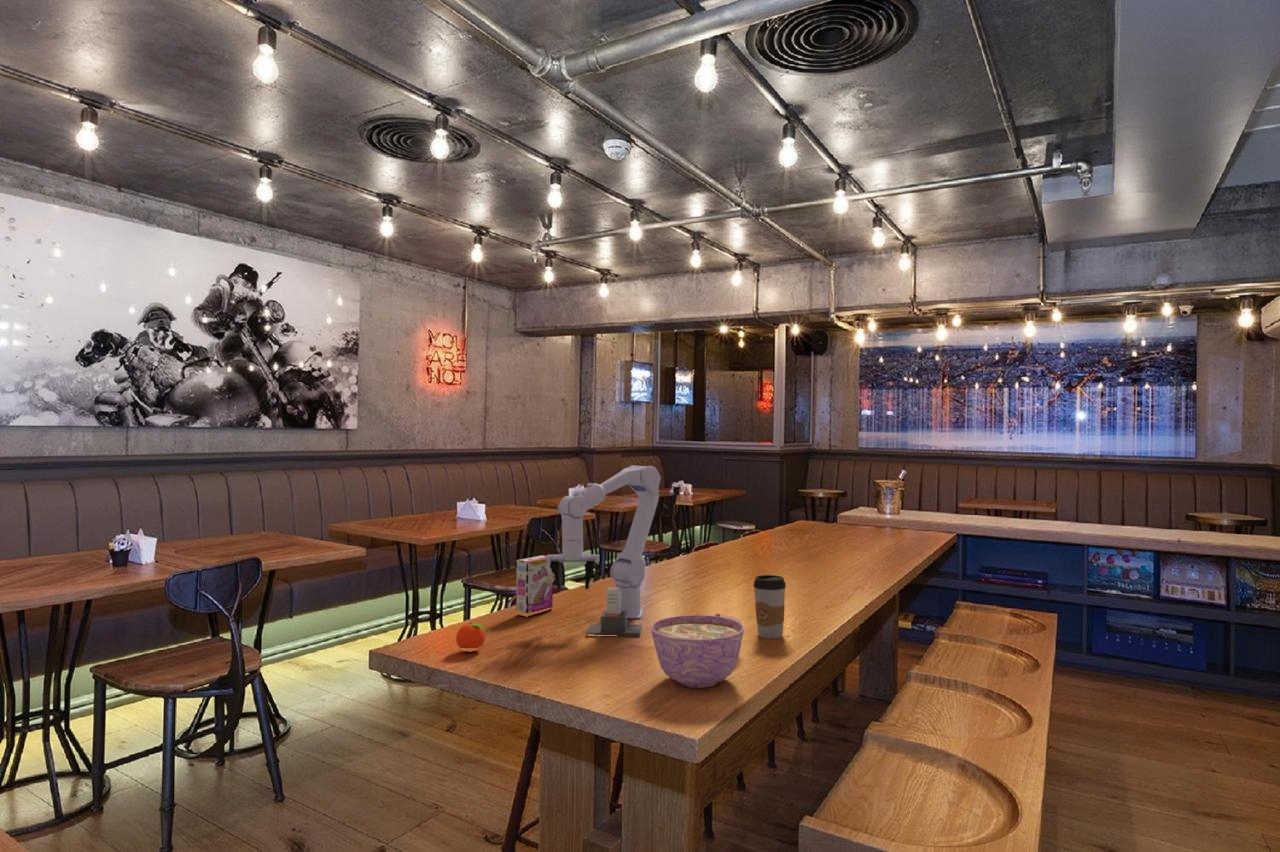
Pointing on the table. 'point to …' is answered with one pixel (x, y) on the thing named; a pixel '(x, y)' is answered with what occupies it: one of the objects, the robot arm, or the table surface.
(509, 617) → the table surface
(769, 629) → the coffee cup
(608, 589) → the block
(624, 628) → the jack housing
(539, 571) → the candy bar box
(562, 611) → the table surface
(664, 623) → the bowl of food
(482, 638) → the clementine
